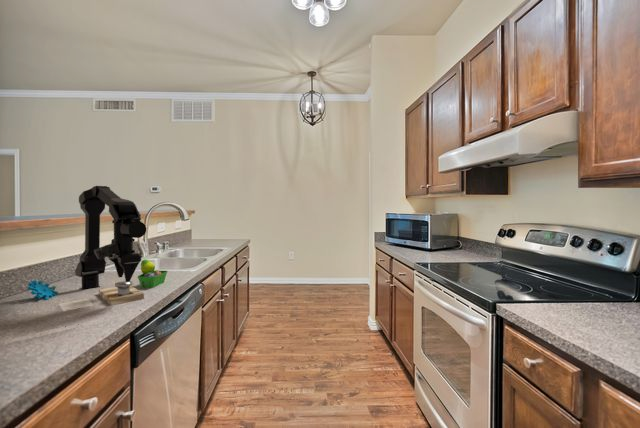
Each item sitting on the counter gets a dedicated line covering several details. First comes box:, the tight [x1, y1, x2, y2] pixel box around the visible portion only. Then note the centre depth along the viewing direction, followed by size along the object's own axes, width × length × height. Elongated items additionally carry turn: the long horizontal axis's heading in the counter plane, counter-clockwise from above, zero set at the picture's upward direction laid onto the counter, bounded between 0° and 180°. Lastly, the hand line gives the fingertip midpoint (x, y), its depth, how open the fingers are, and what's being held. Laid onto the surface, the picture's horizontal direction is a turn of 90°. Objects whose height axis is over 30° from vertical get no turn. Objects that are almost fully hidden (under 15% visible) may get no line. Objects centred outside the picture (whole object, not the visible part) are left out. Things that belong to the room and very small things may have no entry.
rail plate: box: [98, 285, 145, 306], centre depth 112 cm, size 18×10×3 cm, turn 47°
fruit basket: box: [136, 259, 168, 288], centre depth 132 cm, size 11×9×11 cm
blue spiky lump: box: [27, 279, 59, 301], centre depth 110 cm, size 11×6×10 cm
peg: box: [114, 280, 133, 297], centre depth 109 cm, size 5×5×7 cm
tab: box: [58, 298, 94, 312], centre depth 102 cm, size 10×8×1 cm
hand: (123, 279), depth 109 cm, fingers open, 9 cm apart
